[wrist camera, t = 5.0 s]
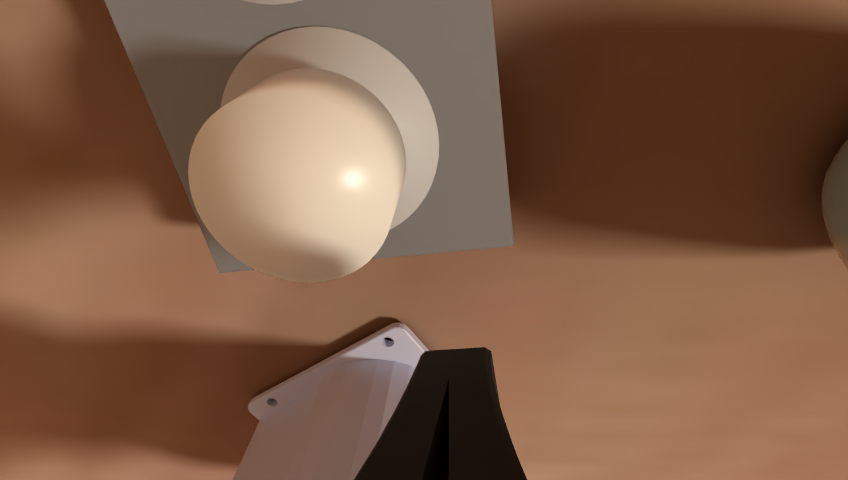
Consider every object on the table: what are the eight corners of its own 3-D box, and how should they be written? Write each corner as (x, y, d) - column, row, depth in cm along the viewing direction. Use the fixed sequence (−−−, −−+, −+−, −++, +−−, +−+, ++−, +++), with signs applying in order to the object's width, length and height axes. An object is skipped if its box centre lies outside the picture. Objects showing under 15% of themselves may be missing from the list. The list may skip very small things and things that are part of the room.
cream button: (419, 227, 15) (410, 274, 13) (263, 243, 16) (230, 290, 14) (387, 54, 13) (368, 77, 10) (204, 82, 13) (154, 109, 11)
